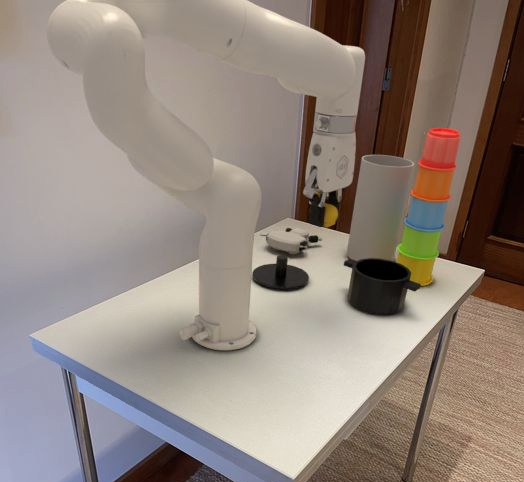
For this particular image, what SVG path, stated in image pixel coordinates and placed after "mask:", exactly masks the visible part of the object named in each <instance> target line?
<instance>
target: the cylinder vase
mask: <svg viewBox="0 0 524 482" xmlns="http://www.w3.org/2000/svg"><path fill="white" fill-rule="evenodd" d="M414 166H415V163H414V162H413V160H410V159H407V158H404V157H399V156H394V155H386V154H367V155H363V156H362V157H361V161H360V167H359V174H358V180H357V186H356V192H355V198H354V203H353V211H352V217H351V222H350V230H349V234H348V235H349V236H348V242H347V248H346V255H347V257H348V259H352V260H355V261H358V260H360V259H367V258H380V259H386V260H391V261H395V256H396V251H397V247H398V241H399V238H400V232H401V228H402V223H403V219H404V213H405V209H406V204H407V199H408V194H409V190H410V185H411V181H412V176H413V171H414Z"/></svg>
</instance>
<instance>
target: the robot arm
mask: <svg viewBox="0 0 524 482" xmlns="http://www.w3.org/2000/svg"><path fill="white" fill-rule="evenodd" d="M151 36H153V37H159V38H165V39H168V40H170V41H173V42H175V43H178V44H180V45H182V46H184V47H187V48H189V49H192V50H194V51H196V52H199V53H201V54H204V55H205V56H208V57H210V58H213V59H215V60H217V61H219V62H221V63H223V64H226V65H228V66H229V67H232V68H235V69H238V70H242V71H243V72H248V73H252V74H256V75H261V76H268V77H272V78H276V80H277V82H278V84H279V85H280V86H281V87H283V88H284V89H285V90H287V91H289V92H292V93H294V94H299V95H305V96H310V97H314V98H315V97H316V100H315V101H316V102H315V110H314V111H315V112H314V119H313V120H314V121H313V129H312V132H313V133H312V136H311V139H310V144H309V148H308V154H307V161H306V167H305V181H304V183H305V186H304V188H303V191H302V194H303V195H304V196H305V197H306V198H307V199H308V204H309V205H310V207H309V217H308V224H309V225H312V226H314V227H317V228H324V227H323V225H324V217H325V209H326V207H324V203H327V204H331V205H333V206H335V207H336V209H337V211H338V212H339V207H340V202H341V201H342V196H343V193H344V191H345V189H346V188H348V187H349V186H351V184H352V183H353V180H354V173H355V164H356V151H357V138H356V126H357V119H358V111H359V105H360V99H361V91H362V84H363V77H364V76H363V75H364V70H365V63H366V53H365V51H364V49H363V48H361V47H359V46H354V45H346V44H345V45H344V44H343V45H342V44H340V43H339V42H337V41H336V40H335V39H332V38H331V37H329V36H328V35H326V34H323V33H322V32H320V31H318V30H316V29H315V28H314V29H313V28H312V27H309V26H307V25H305V24H302V23H301V22H297V21H295V20H292V19H289V18H288V17H285V16H283V15H281V14H279V13H277V12H274V11H273V10H269V9H267V8H265V7H262V6H260V5H257V4H255V3H253V2H251V1H250V0H64V1H62V2H61V3H60V4H58V5H57V6H56V7H55V9H54V10H53V11H52V12H51V14H50V16H49V17H48V20H47V25H46V40H47V44H48V47H49V50H50V51H51V53H52V55H53V56H54V59H56V60H57V61H58V62H59V64H60V65H61V66H63V67H64V68H65V69H66V70H69V71H71V72H72V73H74V74H77V75H81V76H82V85H83V92H84V93H83V94H84V98H85V101H86V104H87V109H88V112H89V114H90V117H91V119H92V121H93V123H94V125H95V126H96V128H97V129H98V131H99V132H100V133H101V134H102V135H103V136H104V137H105V138H106V139H107V140H108V141H109V142H110V143H111V144H113V145H114V146H116V147H117V148H118V149H119V150H120V151H122V152H123V153H125V155H126V156H127V159H128V161H129V164H130V165H131V166H132V167H133V169H134V170H135V171H136V172H137V173H138V174H139V175H141V176H142V177H143V178H144V179H146V180H147V181H149V182H151V183H152V184H153V185H155V186H156V187H157V188H159V189H160V190H162V191H163V192H165V193H166V194H168V195H169V196H171V197H172V198H174V199H175V200H176V201H178V202H179V203H180V204H183V205H184V206H186V207H188V209H191V210H193V211H195V212H196V213H199V214H201V215H202V216H204V217H205V223H204V227H203V230H202V232H201V233H200V237H199V242H198V314H197V315H194V321H193V322H192V323H191V325H190V326H187V327H185V328H183V329H181V330H179V333H178V335H179V337H180V339H182V340H183V341H186V340H188V339H190V338H192V340H193V341H194V342H195V343H197V344H198V345H200V346H202V347H204V348H207V349H209V350H210V349H211V350H215V351H232V350H233V351H234V350H238V349H242V348H245V347H247V346H249V345H251V344H252V343H253V342H254V341H255V339H256V337H257V327H256V325H255V324H254V323H253V322H252V321H251V320H250V309H251V307H250V306H251V291H252V289H251V288H252V274H253V255H254V254H253V252H254V241H255V235H256V234H255V232H256V229H257V228H256V227H257V223H258V219H259V216H260V212H261V209H262V208H261V207H262V200H263V198H262V197H263V195H262V194H263V193H262V189H261V187H260V184H259V182H258V181H257V180H256V178H255V177H254V176H253V175H252V174H251V173H249V172H248V171H247V170H245V169H244V168H241V167H240V166H237V165H234V164H231V163H229V162H226V161H223V160H220V159H217V158H215V157H214V156H213V153H212V150H211V148H210V147H209V144H208V143H207V142H206V141H205V139H204V138H203V137H202V136H201V135H200V134H199V133H197V131H195V130H194V129H192V128H191V127H190V126H189V125H187V123H185V122H184V121H182V120H181V119H180V118H178V117H177V116H176V114H174V113H173V112H171V111H170V110H169V109H168V108H167V107H166V106H165V105H163V103H162V102H160V100H159V99H158V98H157V97H156V96H155V95H154V94H153V93H152V92H151V90H150V88H149V85H148V83H147V78H146V70H145V69H146V67H145V65H146V64H145V62H146V61H145V60H146V55H145V45H144V40H145V39H147V38H149V37H151ZM317 192H319V193H321V194H320V198H319V196H318V194H316V193H317ZM337 221H338V219H337V220H336V221H335V223H336V222H337Z"/></svg>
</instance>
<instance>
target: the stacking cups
mask: <svg viewBox="0 0 524 482" xmlns="http://www.w3.org/2000/svg"><path fill="white" fill-rule="evenodd" d="M460 134H461V132H460V131H458V130H456V129H453V128H446V127H433V128H430V129H429V131H428V132H427V133H426V137H425V142H424V147H423V151H422V155H421V159H420V160H419V161H418V165H419V166H418V171H417V177H416V180H415V185H414V189H412V190H410V191H411V192H410V195H411V200H410V205H409V209H408V214H407V217H406V218H405V219H404V222H403V223H404V224H405V225H404V230H403V234H402V238H401V242H400V243H399V244H397V247H396V250H397V251H398V253H397V258H396V262H397V263H400V264H402V265H404V266H405V267H407V268H408V269H409V270H410V272H411V277H410V280H411V281H413V282H416V283H419V284H421V286H420V287H425V286H428V285H431V284H432V283H433V282H434V277H433V275H432V273H433V270H434V267H435V262H436V259H437V258H438V257H439V254H440V252H439V250H438V247H439V243H440V239H441V235H442V231H443V230H444V229H445V224H444V219H445V214H446V211H447V207H448V203H449V201H450V200H451V197H452V196H451V195H450V191H451V187H452V182H453V178H454V174H455V170H456V169H457V164H456V162H457V161H456V160H457V155H458V151H459V147H460V141H461V136H462V135H460Z"/></svg>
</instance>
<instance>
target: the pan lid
mask: <svg viewBox="0 0 524 482" xmlns="http://www.w3.org/2000/svg"><path fill="white" fill-rule="evenodd" d="M288 260H289V257H288V256H287V255H285V254H277V256H276V260H275V261H276V262H275V263H267V264H262V265H259V266H257V267H255V268H254V269H253V270H252V274H251V277H252V279H253V280H254V281H255V282H257V283H258V284H260V285H262V286H264V287H268V288H271V289H278V290H292V289H298V288H301V287H303V286H306V284H308V283H309V280H310V275H309V274H308V272H307V271H305V269H302V268H300V267H297V266H295V265H291V264H288Z"/></svg>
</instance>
